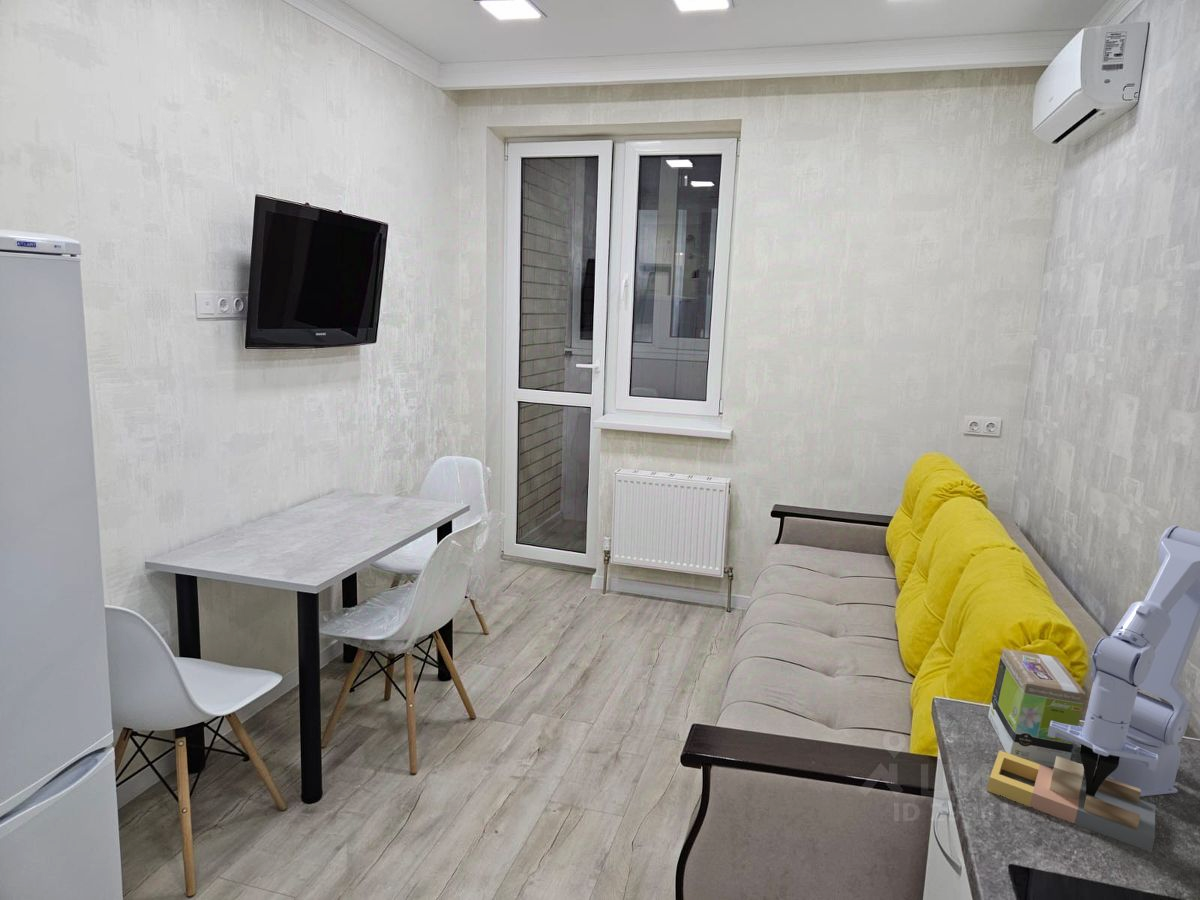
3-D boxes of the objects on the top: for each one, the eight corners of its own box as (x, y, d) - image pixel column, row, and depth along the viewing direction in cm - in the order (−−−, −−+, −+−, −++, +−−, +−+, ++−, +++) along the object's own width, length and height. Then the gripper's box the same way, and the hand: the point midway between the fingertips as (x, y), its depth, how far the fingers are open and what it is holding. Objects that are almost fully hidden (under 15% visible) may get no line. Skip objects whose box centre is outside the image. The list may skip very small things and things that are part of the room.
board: (1151, 818, 129) (1155, 804, 128) (1151, 852, 120) (1155, 837, 120) (996, 763, 141) (999, 750, 140) (987, 790, 132) (989, 777, 132)
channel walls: (1138, 800, 129) (1141, 789, 129) (1137, 829, 122) (1140, 817, 121) (1087, 782, 133) (1090, 771, 132) (1083, 809, 125) (1086, 798, 125)
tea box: (1070, 771, 140) (1088, 693, 137) (1008, 760, 142) (1024, 683, 139) (1042, 726, 154) (1058, 654, 151) (986, 716, 156) (1000, 645, 153)
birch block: (1079, 787, 131) (1084, 765, 130) (1077, 799, 128) (1083, 776, 127) (1051, 777, 133) (1056, 755, 132) (1049, 789, 130) (1054, 767, 129)
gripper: (1053, 707, 126) (1036, 785, 129) (1165, 742, 118) (1144, 824, 121) (1057, 690, 132) (1041, 765, 135) (1164, 722, 124) (1144, 801, 127)
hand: (1090, 792), depth 129 cm, fingers closed
